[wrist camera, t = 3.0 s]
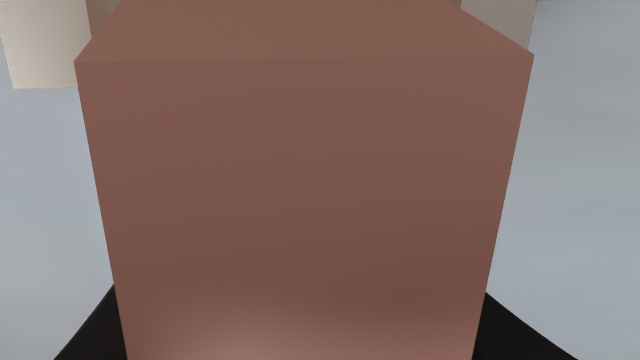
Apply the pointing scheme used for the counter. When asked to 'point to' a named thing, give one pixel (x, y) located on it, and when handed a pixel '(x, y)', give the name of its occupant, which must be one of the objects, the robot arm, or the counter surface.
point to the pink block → (300, 174)
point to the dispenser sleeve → (98, 3)
